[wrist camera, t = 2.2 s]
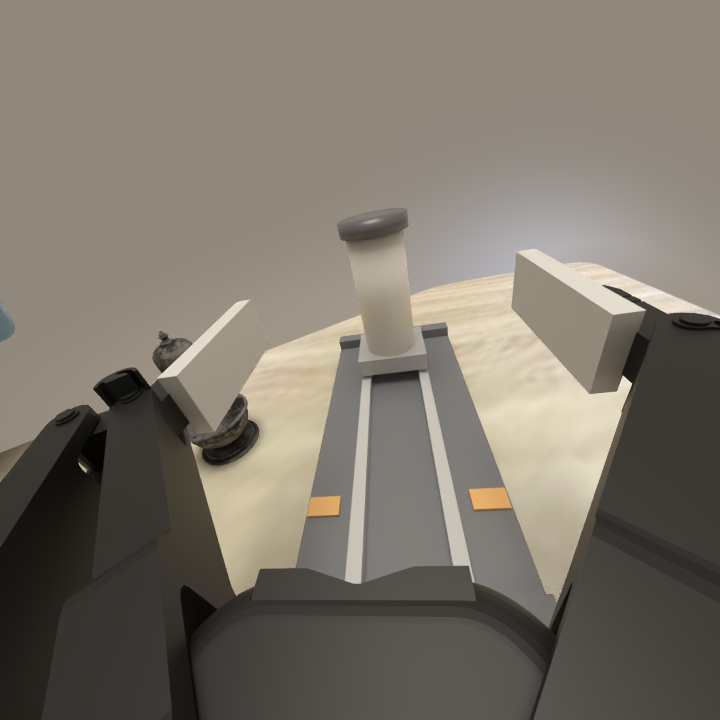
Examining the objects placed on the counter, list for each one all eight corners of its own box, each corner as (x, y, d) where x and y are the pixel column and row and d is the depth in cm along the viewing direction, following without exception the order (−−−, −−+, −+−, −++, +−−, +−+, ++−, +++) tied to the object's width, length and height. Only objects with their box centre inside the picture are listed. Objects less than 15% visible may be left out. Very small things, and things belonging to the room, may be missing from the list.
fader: (361, 377, 27) (326, 231, 20) (364, 347, 31) (336, 218, 24) (427, 369, 26) (416, 213, 19) (421, 339, 30) (409, 203, 23)
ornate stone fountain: (188, 452, 28) (102, 345, 21) (239, 411, 31) (180, 309, 25) (220, 479, 24) (131, 361, 18) (274, 430, 28) (216, 317, 21)
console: (294, 648, 15) (273, 629, 13) (346, 357, 36) (340, 336, 34) (555, 656, 13) (569, 636, 11) (446, 344, 34) (445, 322, 32)
